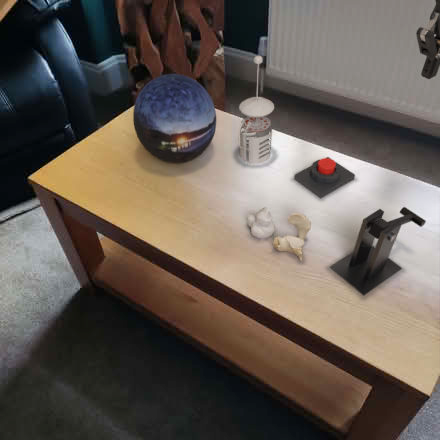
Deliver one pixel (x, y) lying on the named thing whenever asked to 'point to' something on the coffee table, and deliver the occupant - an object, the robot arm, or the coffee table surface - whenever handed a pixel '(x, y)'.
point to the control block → (323, 179)
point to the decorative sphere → (174, 118)
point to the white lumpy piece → (261, 223)
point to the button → (326, 166)
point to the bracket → (369, 257)
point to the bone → (293, 242)
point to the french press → (256, 127)
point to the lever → (406, 218)
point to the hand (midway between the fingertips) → (428, 76)
